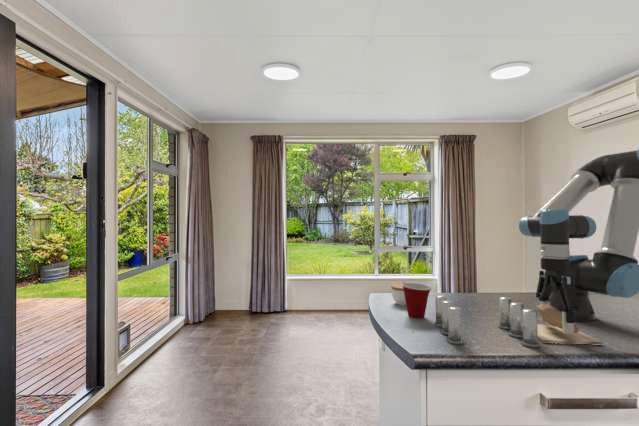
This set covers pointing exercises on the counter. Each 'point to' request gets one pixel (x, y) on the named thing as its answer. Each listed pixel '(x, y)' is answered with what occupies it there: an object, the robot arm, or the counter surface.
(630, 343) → the counter surface
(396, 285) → the lidded jar
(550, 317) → the pottery oil lamp
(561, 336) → the ash board
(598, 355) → the counter surface
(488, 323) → the counter surface
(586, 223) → the robot arm
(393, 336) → the counter surface
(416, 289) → the plastic cup
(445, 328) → the posts
